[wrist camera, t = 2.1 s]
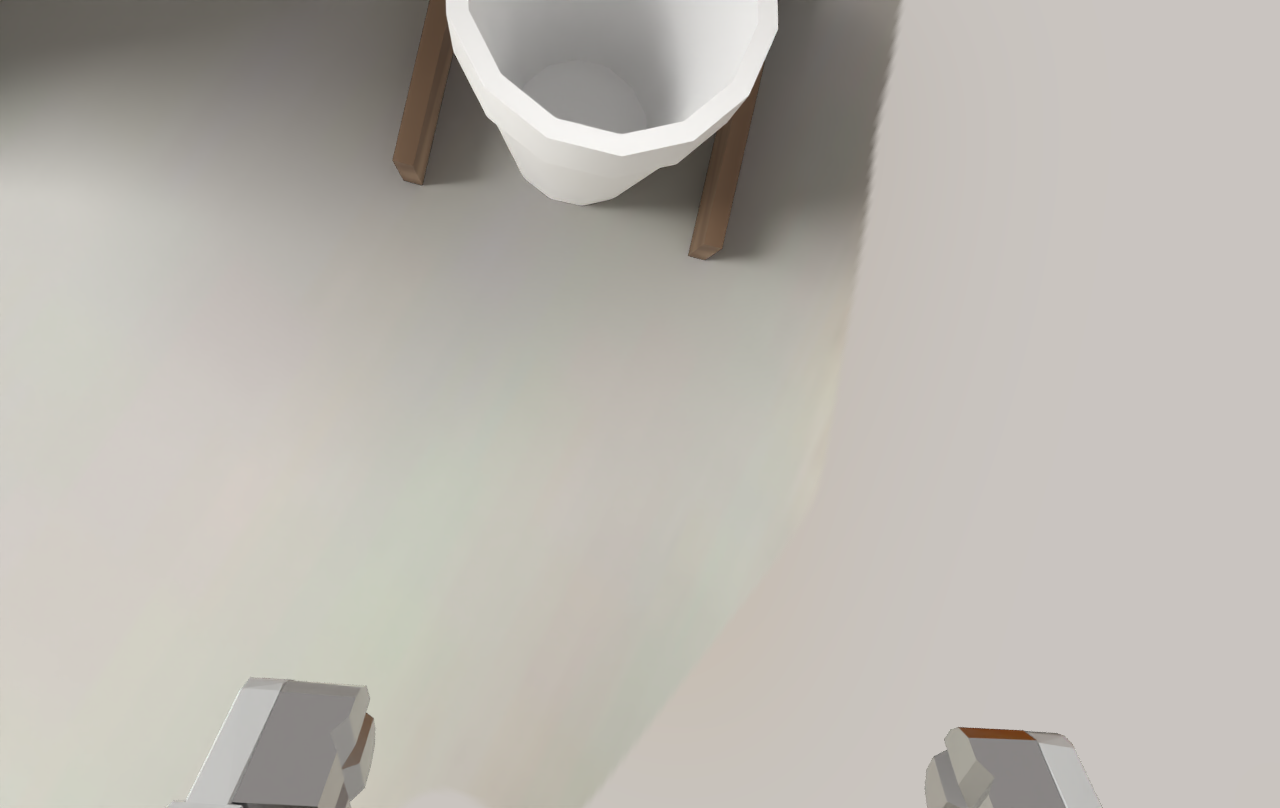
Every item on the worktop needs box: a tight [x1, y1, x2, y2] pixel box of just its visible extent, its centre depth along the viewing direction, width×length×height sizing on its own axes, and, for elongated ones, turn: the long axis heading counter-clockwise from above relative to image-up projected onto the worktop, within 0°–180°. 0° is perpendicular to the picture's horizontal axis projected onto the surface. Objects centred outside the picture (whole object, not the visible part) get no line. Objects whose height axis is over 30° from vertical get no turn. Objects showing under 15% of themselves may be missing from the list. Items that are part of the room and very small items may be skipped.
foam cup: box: [446, 0, 778, 206], centre depth 28 cm, size 10×9×13 cm
